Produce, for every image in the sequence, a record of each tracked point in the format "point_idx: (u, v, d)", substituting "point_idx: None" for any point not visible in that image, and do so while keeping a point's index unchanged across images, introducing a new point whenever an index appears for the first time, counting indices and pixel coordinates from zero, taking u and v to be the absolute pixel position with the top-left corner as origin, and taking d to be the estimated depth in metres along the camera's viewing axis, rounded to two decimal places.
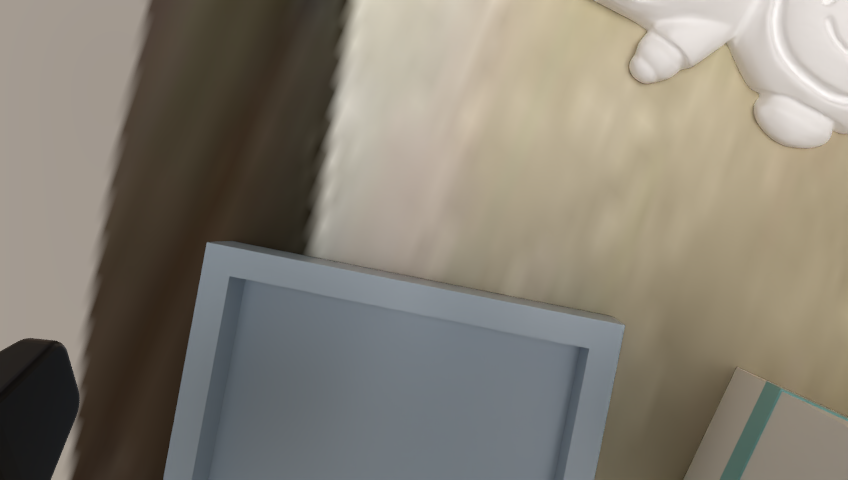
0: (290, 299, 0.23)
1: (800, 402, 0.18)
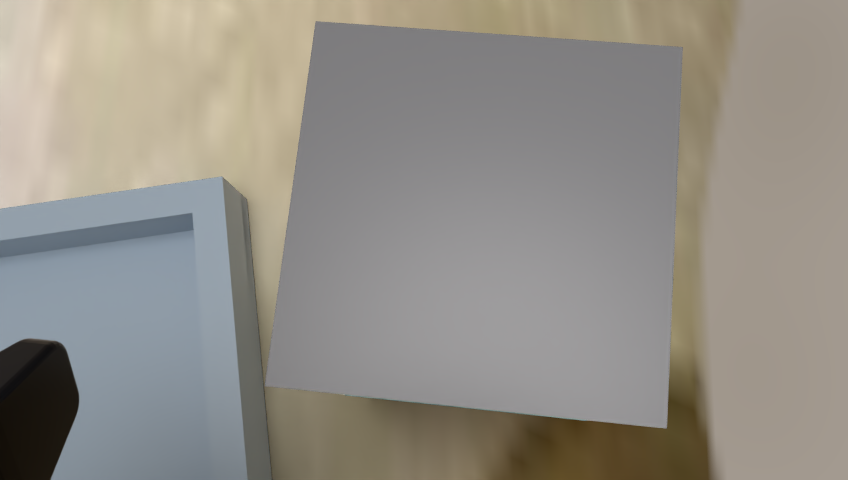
0: None
1: None
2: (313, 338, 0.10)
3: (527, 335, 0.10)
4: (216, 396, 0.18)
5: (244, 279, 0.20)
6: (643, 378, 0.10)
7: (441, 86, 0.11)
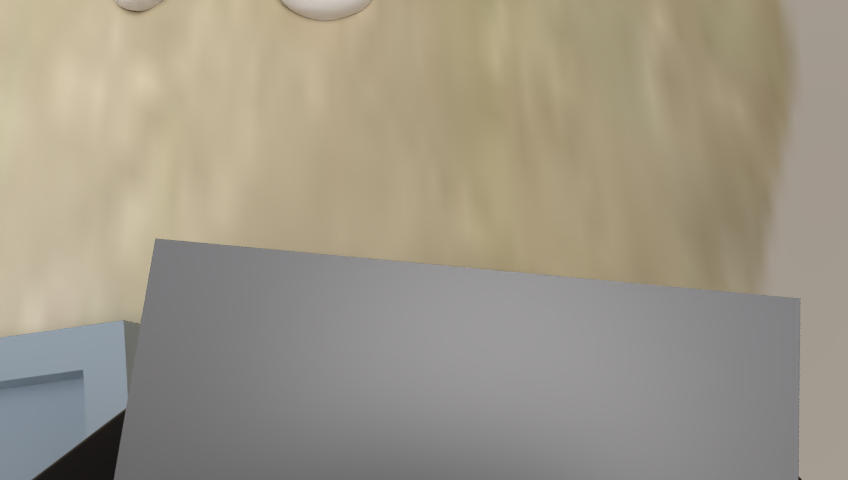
0: None
1: None
2: None
3: None
4: None
5: None
6: None
7: (370, 364, 0.06)
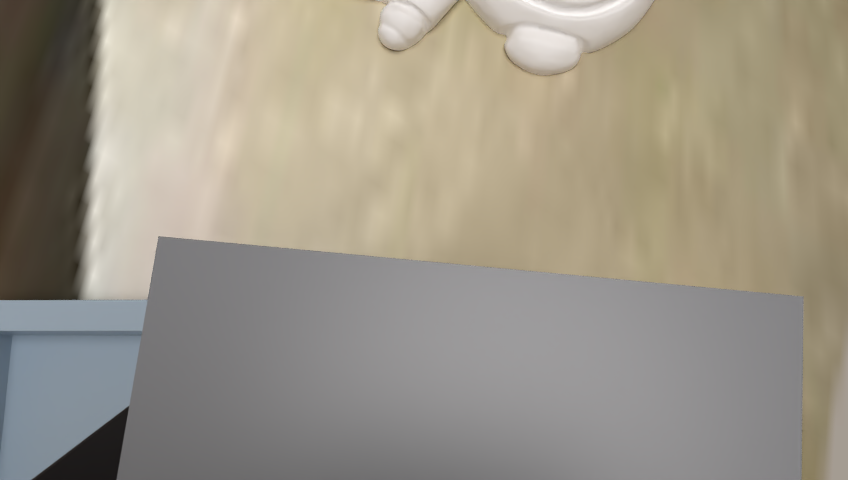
0: (60, 353, 0.22)
1: None
2: None
3: None
4: None
5: None
6: None
7: (373, 362, 0.06)
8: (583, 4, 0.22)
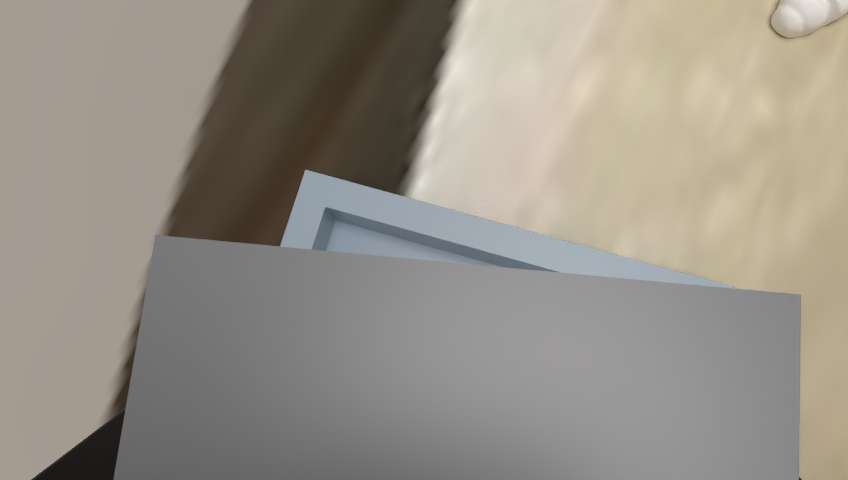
0: (379, 251, 0.22)
1: None
2: None
3: None
4: None
5: None
6: None
7: (370, 361, 0.06)
8: None
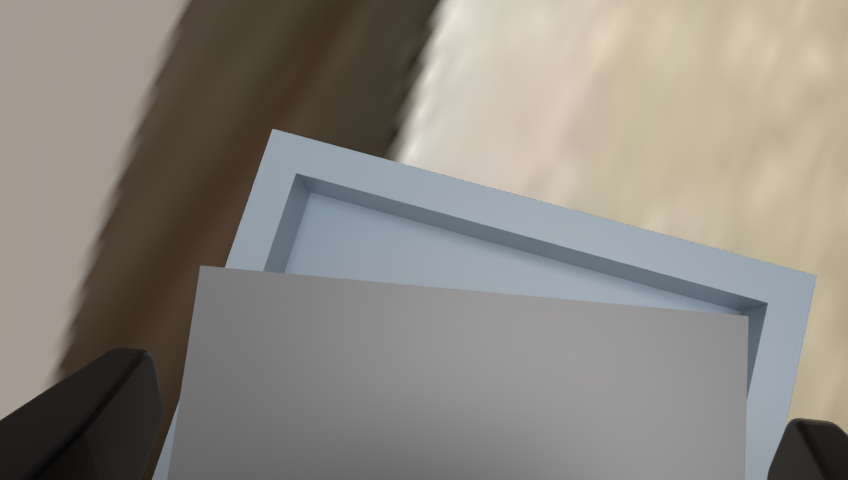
0: (362, 229, 0.18)
1: None
2: None
3: None
4: None
5: None
6: None
7: (385, 373, 0.07)
8: None
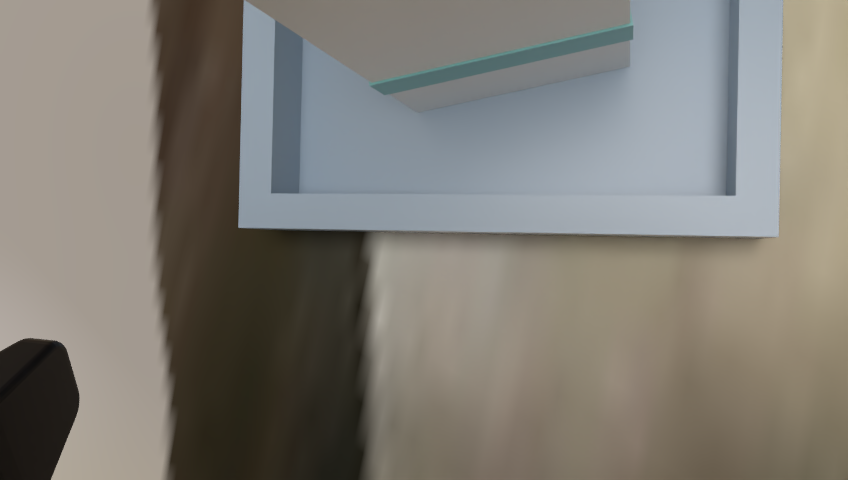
0: None
1: None
2: None
3: None
4: None
5: None
6: None
7: None
8: None
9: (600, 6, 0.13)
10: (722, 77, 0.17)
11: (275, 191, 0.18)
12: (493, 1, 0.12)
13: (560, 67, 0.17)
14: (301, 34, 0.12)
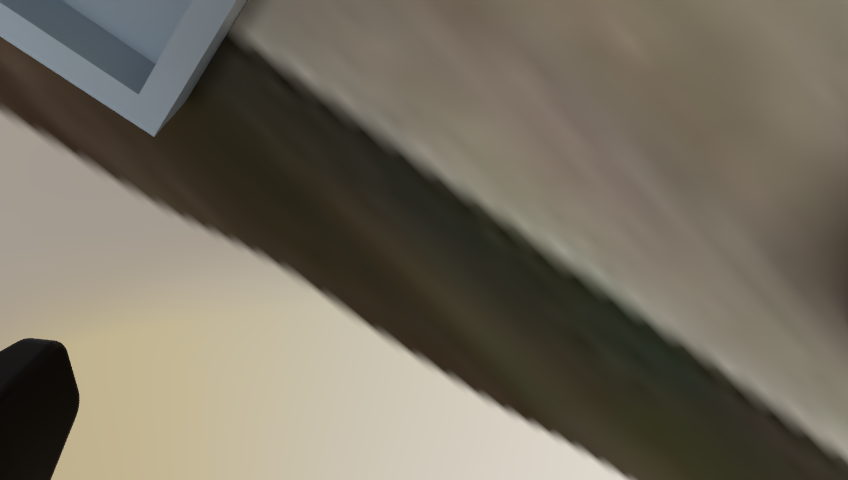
0: None
1: None
2: None
3: None
4: None
5: None
6: None
7: None
8: None
9: None
10: None
11: (140, 89, 0.19)
12: None
13: None
14: None
